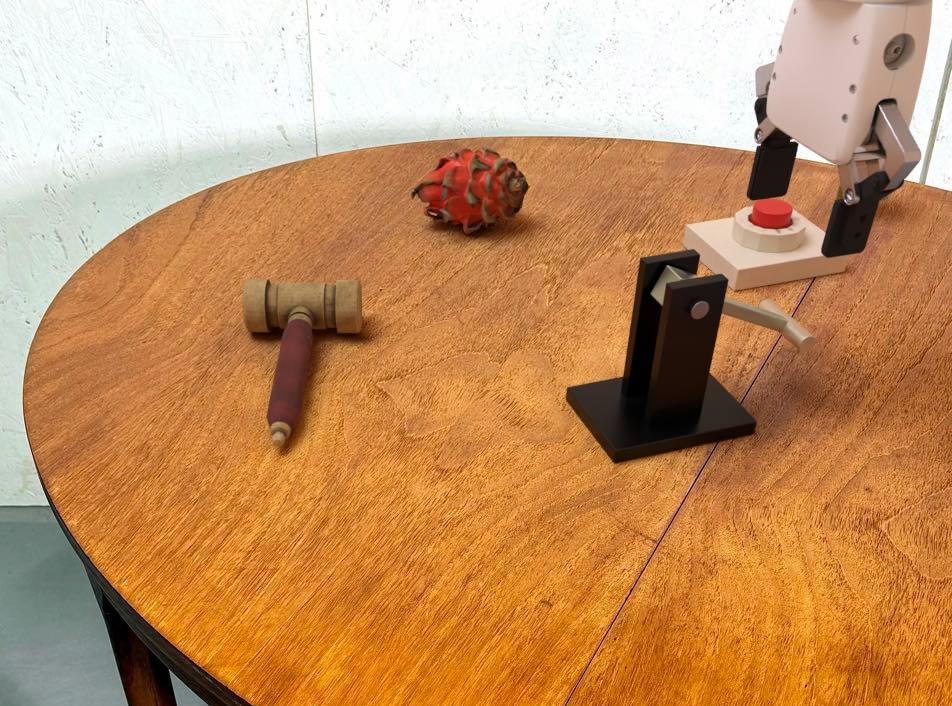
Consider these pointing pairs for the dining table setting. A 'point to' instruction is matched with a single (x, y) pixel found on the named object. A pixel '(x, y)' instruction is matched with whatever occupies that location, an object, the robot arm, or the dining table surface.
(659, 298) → the lever
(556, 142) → the dining table surface
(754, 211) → the button
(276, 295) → the gavel
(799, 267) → the button box
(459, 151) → the dragon fruit
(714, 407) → the bracket
